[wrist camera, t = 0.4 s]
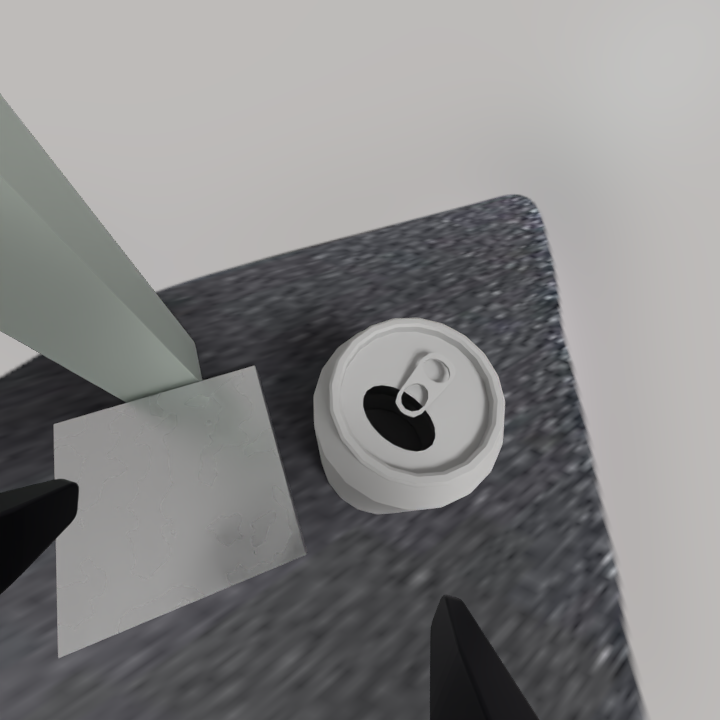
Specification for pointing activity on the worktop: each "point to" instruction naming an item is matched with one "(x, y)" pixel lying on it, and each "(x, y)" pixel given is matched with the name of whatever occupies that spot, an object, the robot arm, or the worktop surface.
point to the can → (407, 417)
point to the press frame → (78, 282)
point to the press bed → (169, 505)
